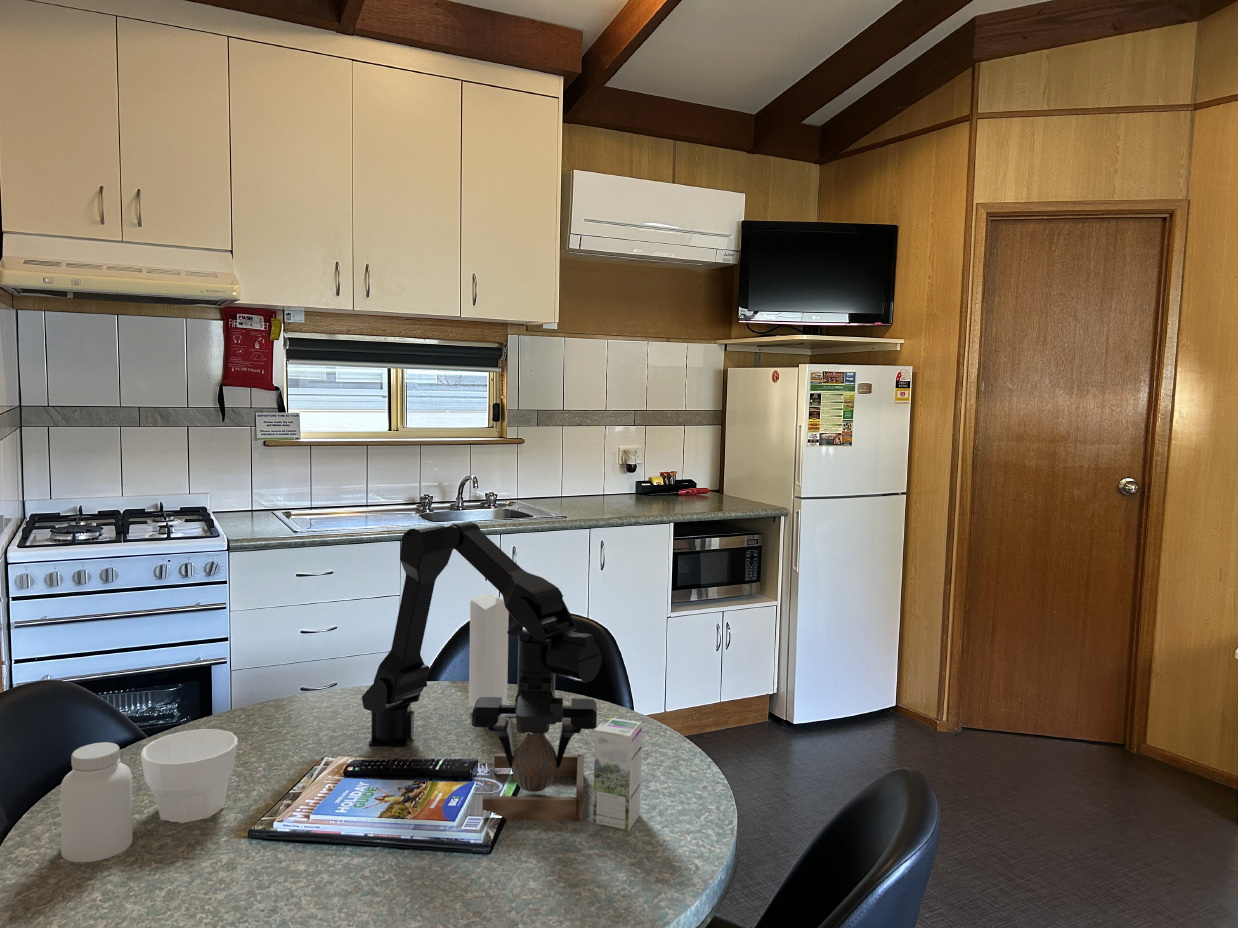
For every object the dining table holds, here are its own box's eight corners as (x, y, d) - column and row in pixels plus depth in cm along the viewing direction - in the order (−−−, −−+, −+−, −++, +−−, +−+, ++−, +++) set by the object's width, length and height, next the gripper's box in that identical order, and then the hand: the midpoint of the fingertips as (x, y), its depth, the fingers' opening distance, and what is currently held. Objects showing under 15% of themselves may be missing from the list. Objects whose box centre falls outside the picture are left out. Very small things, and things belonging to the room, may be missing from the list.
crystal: (463, 722, 163) (465, 597, 161) (469, 709, 170) (471, 588, 168) (503, 723, 163) (505, 598, 161) (507, 709, 170) (509, 589, 168)
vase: (554, 797, 130) (555, 740, 129) (508, 795, 130) (509, 739, 129) (558, 777, 137) (559, 723, 136) (514, 775, 137) (516, 721, 136)
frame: (482, 822, 125) (482, 798, 125) (494, 774, 141) (494, 753, 141) (582, 823, 126) (582, 800, 125) (583, 775, 142) (583, 754, 141)
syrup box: (641, 814, 129) (643, 720, 128) (628, 833, 123) (631, 734, 122) (605, 807, 131) (607, 714, 129) (591, 825, 125) (593, 728, 124)
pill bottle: (82, 885, 107) (79, 767, 106) (49, 865, 111) (46, 752, 110) (145, 857, 114) (143, 746, 113) (112, 839, 118) (110, 732, 117)
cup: (183, 795, 131) (182, 724, 130) (256, 805, 129) (256, 733, 128) (120, 835, 119) (119, 758, 118) (200, 847, 116) (199, 768, 116)
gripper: (467, 684, 123) (465, 789, 125) (598, 686, 124) (595, 791, 125) (477, 660, 135) (476, 757, 136) (597, 662, 135) (594, 758, 137)
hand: (534, 766), depth 133 cm, fingers closed on vase, 7 cm apart
